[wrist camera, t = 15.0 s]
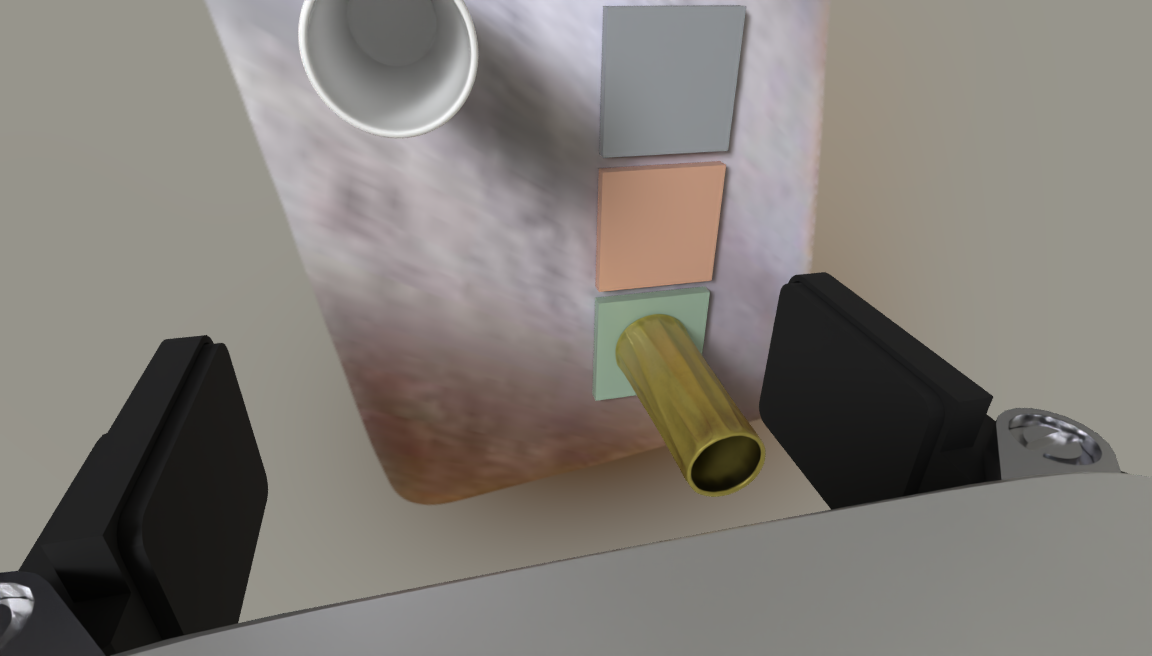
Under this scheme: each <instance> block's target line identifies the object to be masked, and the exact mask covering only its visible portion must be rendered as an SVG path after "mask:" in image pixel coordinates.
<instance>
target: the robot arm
mask: <svg viewBox="0 0 1152 656" xmlns="http://www.w3.org/2000/svg"><path fill="white" fill-rule="evenodd" d="M992 399H993V396H992V395H990V394H989V393H988V392H987V391H985V390H984V389H983V388H981V387H980V386H978V385H977V384H976V383H975V382H973V381H972V380H970V379H969V378H968V377H967V376H965V375H964V374H962V373H961V372H960V371H958V370H957V369H956V368H954V367H953V366H952V365H950V364H949V363H948V362H946V361H945V360H944V359H942V358H941V357H940V356H938V355H937V354H936V353H934V352H933V351H932V350H930V349H929V348H928V347H926V346H925V345H924V344H922V343H921V342H920V341H918V340H917V339H916V338H914V337H913V336H911V335H910V334H909V333H907V332H906V331H905V330H903V329H902V328H901V327H899V326H898V325H897V324H895V323H894V322H892V321H891V320H890V319H889V318H887V317H886V316H885V315H883V314H882V313H881V312H879V311H878V310H876V309H875V308H874V307H872V306H871V305H870V304H869V303H867V302H866V301H865V300H863V299H862V298H860V297H859V296H858V295H856V294H855V293H854V292H853V291H851V290H850V289H848V288H847V287H846V286H844V285H843V284H842V283H840V282H839V281H838V280H836V279H835V278H834V277H832V276H831V275H829V274H828V273H825V272H822V273H812V274H802V275H795V276H793V277H792V278H791V279H790V281H789V283H788V284H785V285H784V286H783V287H782V289H781V291H780V295H779V301H778V306H777V311H776V317H775V322H774V327H773V333H772V338H771V343H770V349H769V354H768V359H767V365H766V370H765V375H764V381H763V386H762V391H761V397H760V402H759V411H760V415H761V418H762V421H763V422H764V424H765V425H766V426H767V428H768V429H769V430H770V432H771V433H772V434H773V435H774V436H775V438H776V439H777V441H778V442H779V443H780V444H781V446H782V447H783V448H784V450H785V451H786V452H787V453H788V455H789V456H790V457H791V458H792V460H793V461H794V462H795V463H796V465H797V466H798V467H799V469H800V470H801V471H802V473H803V474H804V475H805V476H806V478H807V479H808V480H809V481H810V483H811V484H812V485H813V487H814V488H815V489H816V491H817V492H818V493H819V494H820V496H821V497H822V498H823V500H824V501H825V502H826V503H827V504H828V506H829V507H830V508H831V510H827V511H822V512H816V513H811V514H805V515H799V516H794V517H788V518H783V519H777V520H772V521H766V522H761V523H755V524H751V525H744V526H739V527H734V528H729V529H723V530H718V531H712V532H707V533H701V534H696V535H692V536H686V537H680V538H675V539H669V540H664V541H659V542H653V543H648V544H643V545H637V546H633V547H627V548H621V549H616V550H611V551H606V552H601V553H595V554H589V555H584V556H579V557H573V558H568V559H563V560H558V561H552V562H548V563H542V564H537V565H531V566H526V567H521V568H516V569H511V570H506V571H500V572H495V573H490V574H485V575H480V576H475V577H469V578H464V579H459V580H454V581H449V582H444V583H438V584H433V585H428V586H423V587H418V588H413V589H407V590H402V591H397V592H392V593H386V594H381V595H376V596H371V597H366V598H361V599H355V600H350V601H345V602H340V603H335V604H329V605H324V606H319V607H314V608H309V609H303V610H298V611H293V612H288V613H282V614H278V615H274V616H269V617H264V618H260V619H255V620H251V621H247V622H242V623H238V621H239V617H240V613H241V608H242V604H243V600H244V595H245V591H246V587H247V583H248V578H249V574H250V570H251V566H252V561H253V557H254V553H255V548H256V544H257V540H258V536H259V531H260V527H261V523H262V519H263V515H264V510H265V506H266V502H267V496H268V483H267V477H266V473H265V469H264V466H263V463H262V460H261V456H260V453H259V450H258V447H257V443H256V440H255V437H254V433H253V430H252V427H251V424H250V420H249V417H248V414H247V411H246V407H245V404H244V401H243V398H242V394H241V391H240V388H239V384H238V381H237V378H236V375H235V371H234V368H233V365H232V362H231V358H230V355H229V352H228V350H227V347H226V346H225V344H223V343H217V344H214V343H213V341H212V340H211V338H210V337H208V336H207V335H204V336H194V337H185V338H174V339H166V340H164V341H163V342H162V343H161V344H160V346H159V348H158V349H157V351H156V353H155V354H154V356H153V358H152V360H151V361H150V363H149V364H148V366H147V368H146V370H145V371H144V373H143V375H142V376H141V378H140V379H139V381H138V383H137V384H136V386H135V388H134V390H133V391H132V393H131V395H130V396H129V398H128V399H127V401H126V403H125V405H124V406H123V408H122V409H121V411H120V413H119V415H118V416H117V418H116V420H115V421H114V423H113V425H112V426H111V428H110V430H109V431H108V433H106V434H104V435H102V437H101V438H100V439H99V440H98V441H97V443H96V444H95V446H94V447H93V449H92V451H91V452H90V454H89V455H88V457H87V459H86V460H85V462H84V464H83V465H82V467H81V469H80V470H79V472H78V474H77V475H76V477H75V478H74V480H73V482H72V483H71V485H70V487H69V488H68V490H67V492H66V493H65V495H64V497H63V498H62V500H61V502H60V503H59V505H58V506H57V508H56V510H55V511H54V513H53V515H52V516H51V518H50V520H49V521H48V523H47V524H46V526H45V528H44V529H43V531H42V533H41V535H40V536H39V538H38V539H37V541H36V543H35V544H34V546H33V548H32V549H31V551H30V553H29V554H28V556H27V557H26V559H25V561H24V562H23V564H22V566H21V567H20V569H19V570H18V571H11V572H1V573H0V656H1152V477H1149V476H1142V475H1134V474H1128V473H1125V472H1122V471H1120V468H1119V465H1118V462H1117V459H1116V455H1115V453H1114V451H1113V450H1112V448H1111V447H1110V445H1109V444H1108V443H1107V442H1106V441H1105V440H1104V439H1103V438H1102V437H1101V436H1100V435H1099V434H1098V433H1096V432H1094V431H1093V430H1091V429H1090V428H1088V427H1086V426H1085V425H1083V424H1081V423H1079V422H1077V421H1075V420H1072V419H1070V418H1068V417H1066V416H1063V415H1059V414H1056V413H1052V412H1049V411H1045V410H1039V409H1033V408H1015V409H1011V410H1007V411H1004V412H1003V413H1001V414H1000V415H999V416H998V417H997V420H996V421H994V420H993V419H992V418H991V417H989V416H988V415H987V414H986V413H987V411H988V408H989V406H990V403H991V401H992Z"/></svg>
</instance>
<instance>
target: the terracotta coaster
mask: <svg viewBox="0 0 1152 656" xmlns="http://www.w3.org/2000/svg"><path fill="white" fill-rule="evenodd" d="M725 170H726V165H725V164H724V163H722V162H721V161H713V162H697V163H680V164H663V165H647V166H630V167H613V168H599V179H598V215H597V251H596V288H597V289H598V291H599V292H603V291H613V290H622V289H632V288H642V287H652V286H662V285H672V284H682V283H692V282H702V281H711V280H712V272H713V264H714V257H715V249H716V241H717V233H718V225H719V217H720V209H721V201H722V194H723V186H724V178H725Z"/></svg>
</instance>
